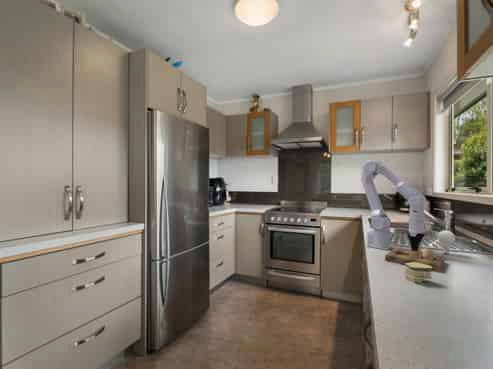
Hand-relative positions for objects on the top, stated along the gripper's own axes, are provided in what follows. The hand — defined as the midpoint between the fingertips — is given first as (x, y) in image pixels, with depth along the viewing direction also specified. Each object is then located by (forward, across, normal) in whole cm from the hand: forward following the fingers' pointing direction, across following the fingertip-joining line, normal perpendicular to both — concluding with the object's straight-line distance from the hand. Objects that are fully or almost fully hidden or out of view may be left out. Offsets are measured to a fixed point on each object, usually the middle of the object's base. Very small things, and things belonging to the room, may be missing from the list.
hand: (415, 249), depth 115 cm
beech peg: (+2, 0, 0) cm, 2 cm away
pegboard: (+2, -14, -2) cm, 14 cm away
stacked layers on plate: (+2, -37, -7) cm, 38 cm away
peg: (+2, -14, -7) cm, 16 cm away
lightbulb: (+2, +11, -10) cm, 15 cm away
